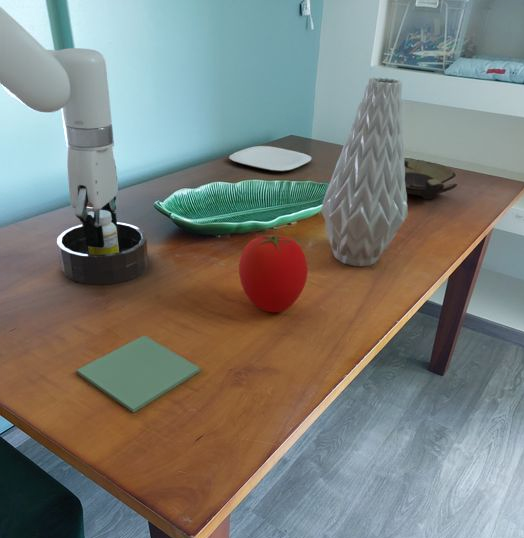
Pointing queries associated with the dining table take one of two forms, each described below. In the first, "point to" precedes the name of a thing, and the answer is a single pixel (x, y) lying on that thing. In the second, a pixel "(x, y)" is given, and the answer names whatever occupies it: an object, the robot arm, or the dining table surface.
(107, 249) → the supplement bottle
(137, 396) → the mat
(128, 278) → the pan
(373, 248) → the vase
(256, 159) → the plate
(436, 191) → the oil lamp
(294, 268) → the tomato
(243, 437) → the dining table surface
